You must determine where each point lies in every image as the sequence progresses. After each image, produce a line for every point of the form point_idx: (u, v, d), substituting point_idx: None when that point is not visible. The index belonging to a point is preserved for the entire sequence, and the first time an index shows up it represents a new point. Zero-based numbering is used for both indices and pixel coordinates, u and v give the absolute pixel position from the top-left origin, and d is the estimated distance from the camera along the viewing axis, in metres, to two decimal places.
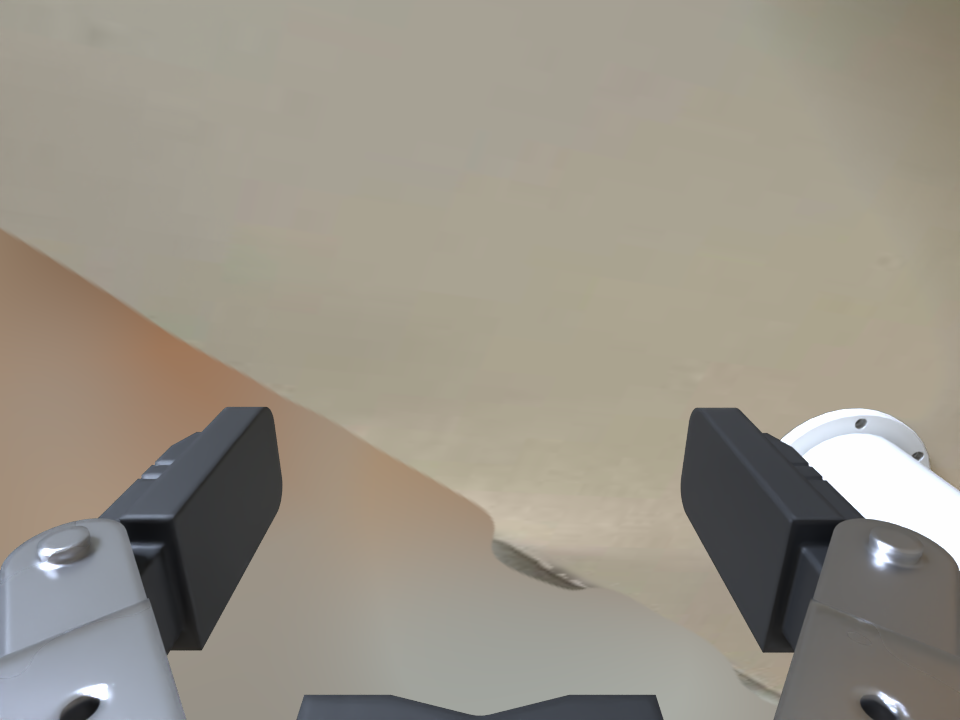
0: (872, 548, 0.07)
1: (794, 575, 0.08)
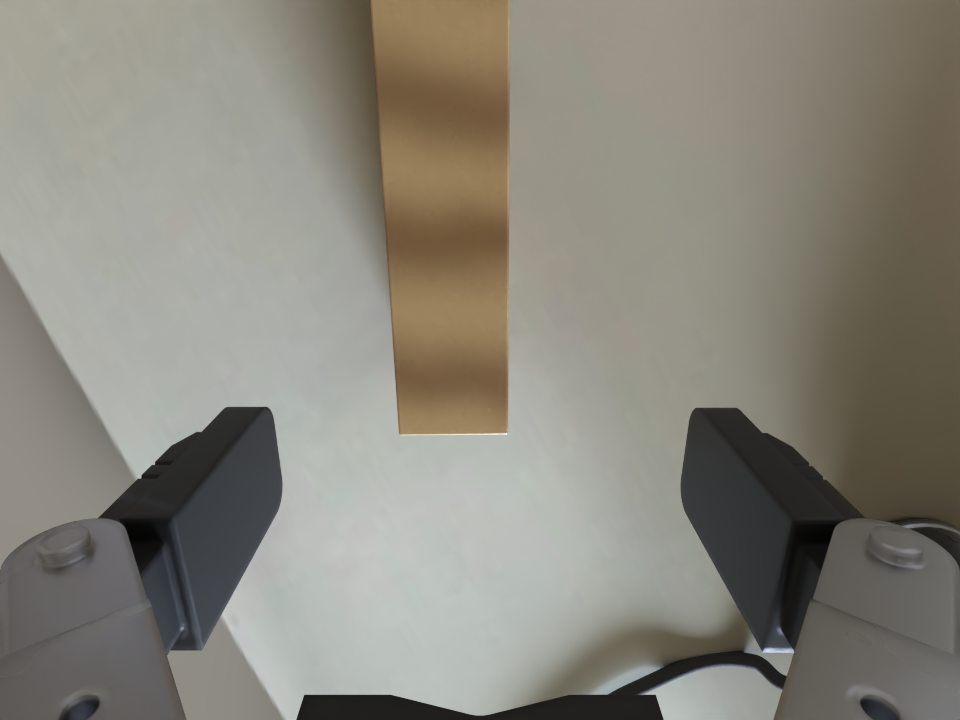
0: (872, 548, 0.07)
1: (794, 576, 0.08)
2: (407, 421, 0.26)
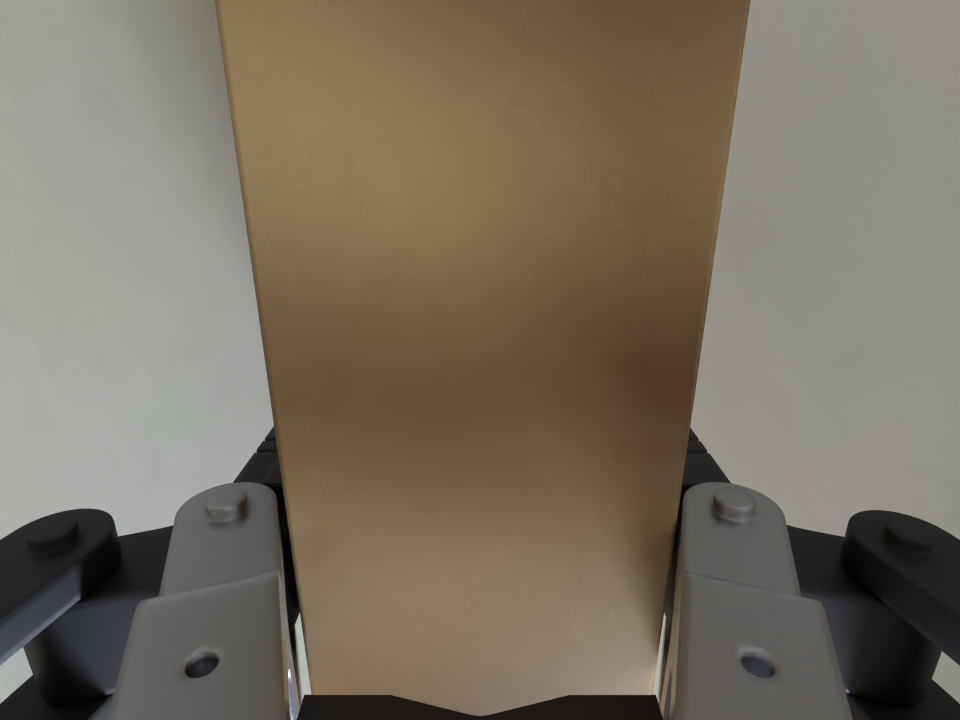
0: (712, 505, 0.07)
1: None
2: None
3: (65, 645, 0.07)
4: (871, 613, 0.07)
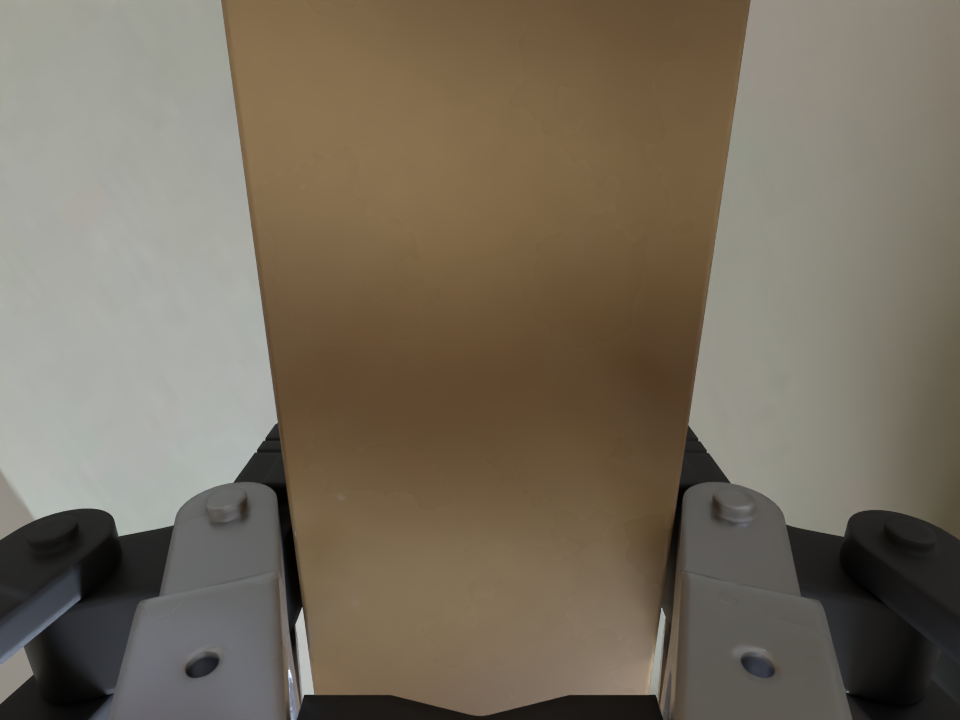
0: (712, 505, 0.07)
1: None
2: None
3: (66, 645, 0.07)
4: (870, 613, 0.07)
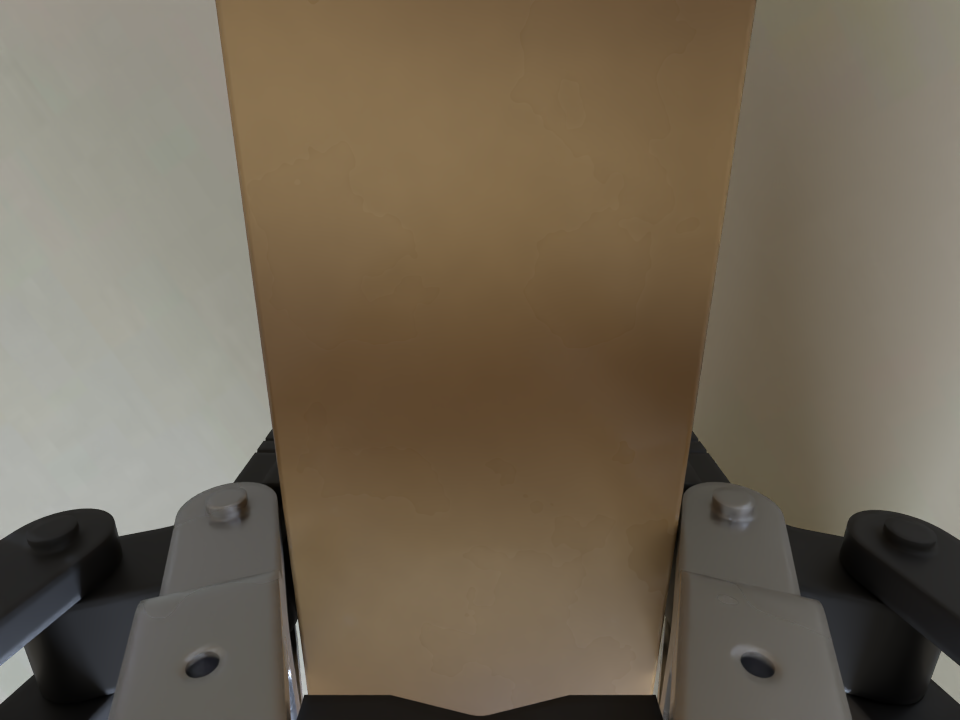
0: (711, 505, 0.07)
1: None
2: None
3: (66, 645, 0.07)
4: (870, 613, 0.07)
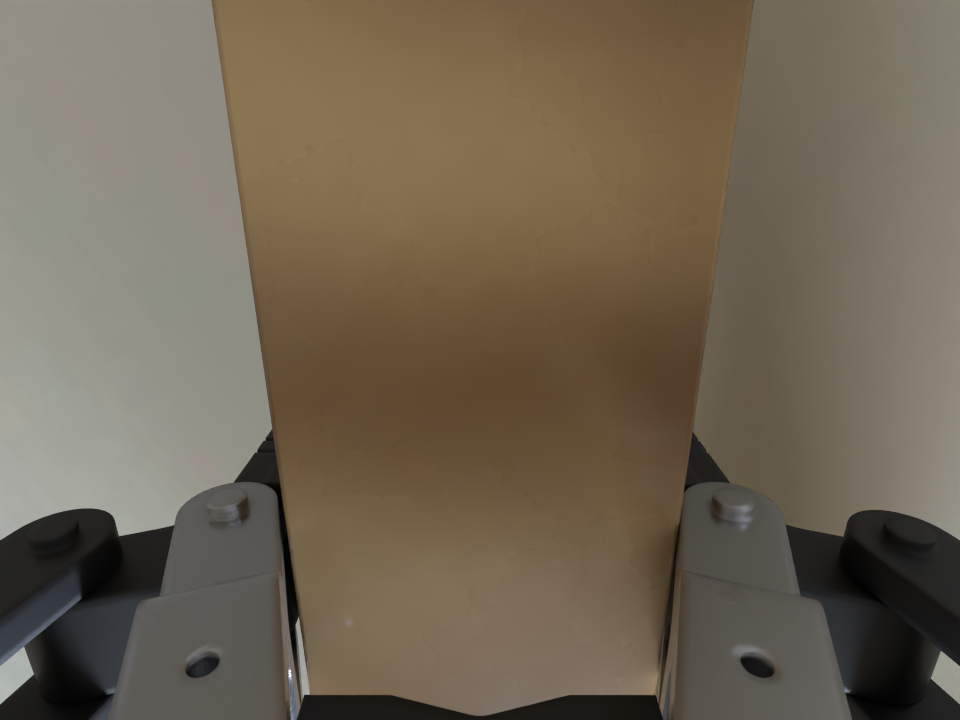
0: (711, 505, 0.07)
1: None
2: None
3: (66, 645, 0.07)
4: (870, 613, 0.07)
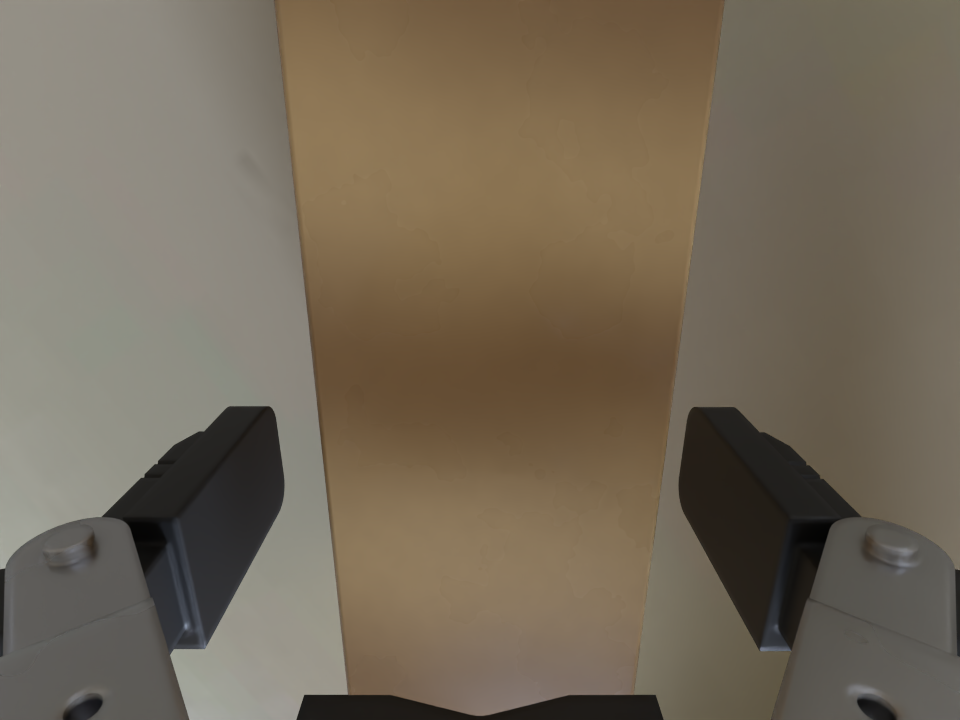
0: (867, 547, 0.07)
1: (790, 574, 0.08)
2: None
3: None
4: None
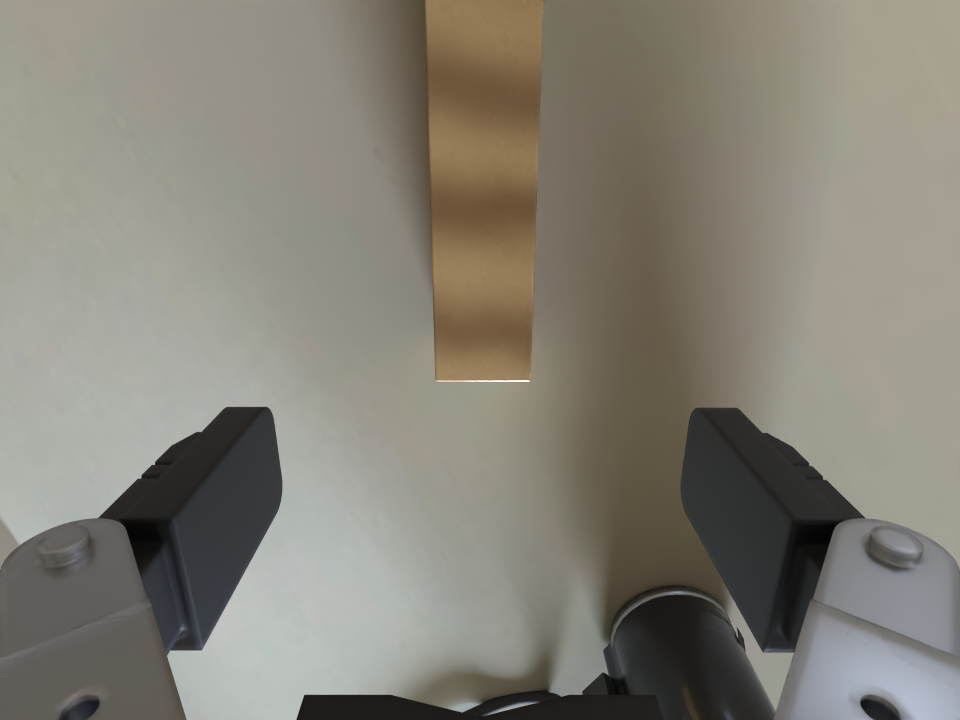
0: (872, 548, 0.07)
1: (793, 575, 0.08)
2: (443, 369, 0.29)
3: None
4: None
